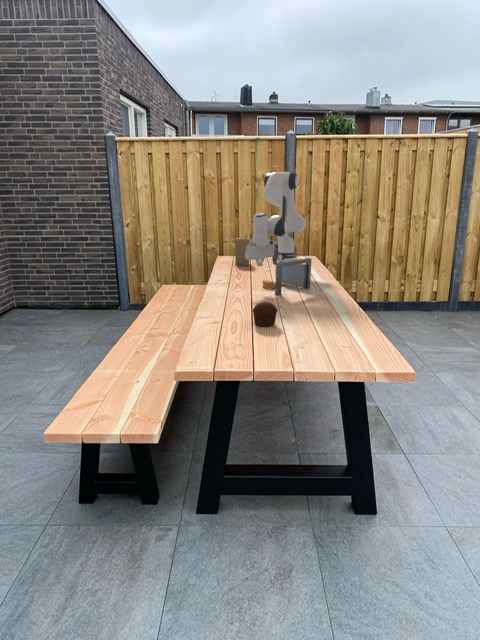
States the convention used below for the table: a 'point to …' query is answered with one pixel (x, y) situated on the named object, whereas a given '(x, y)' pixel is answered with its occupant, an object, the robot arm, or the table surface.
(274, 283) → the orange stepped block
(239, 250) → the wooden block
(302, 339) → the table surface
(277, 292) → the door frame
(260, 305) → the muffin
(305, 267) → the door
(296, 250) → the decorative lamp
